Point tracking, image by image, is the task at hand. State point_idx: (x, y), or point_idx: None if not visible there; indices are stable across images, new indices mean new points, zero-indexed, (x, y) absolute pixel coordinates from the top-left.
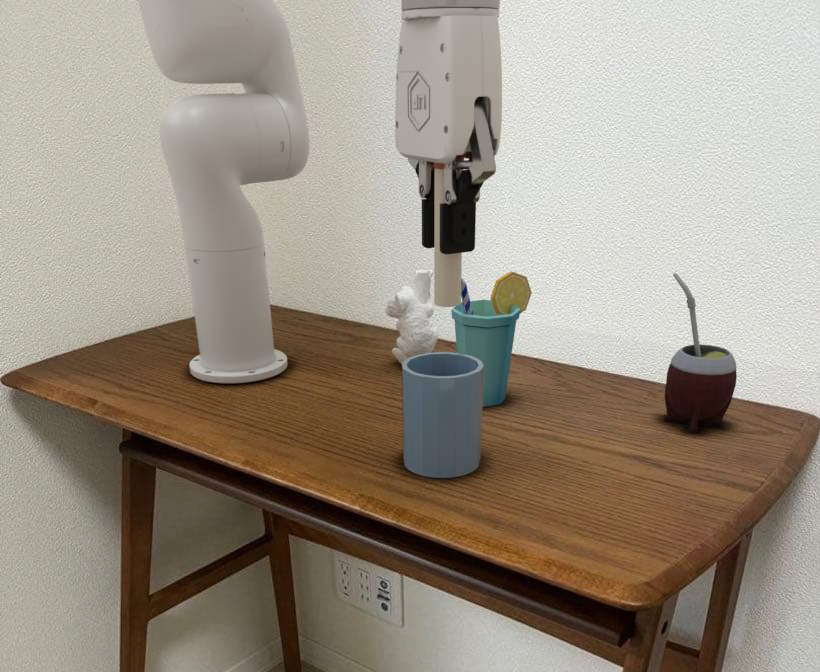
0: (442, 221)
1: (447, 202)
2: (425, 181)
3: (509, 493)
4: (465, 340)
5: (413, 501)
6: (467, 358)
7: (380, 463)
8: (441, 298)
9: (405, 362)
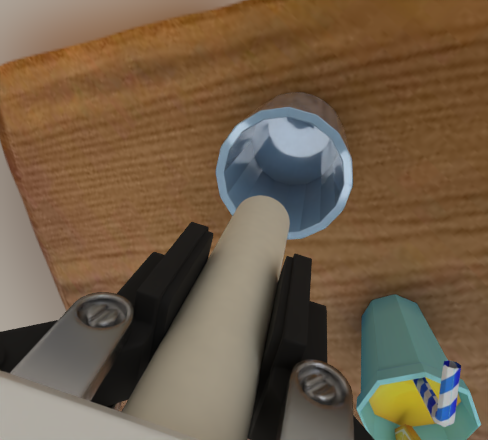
0: (164, 261)
1: (120, 301)
2: (284, 407)
3: (184, 136)
4: (413, 347)
5: (239, 35)
6: None
7: (351, 80)
8: (249, 201)
9: (336, 141)
